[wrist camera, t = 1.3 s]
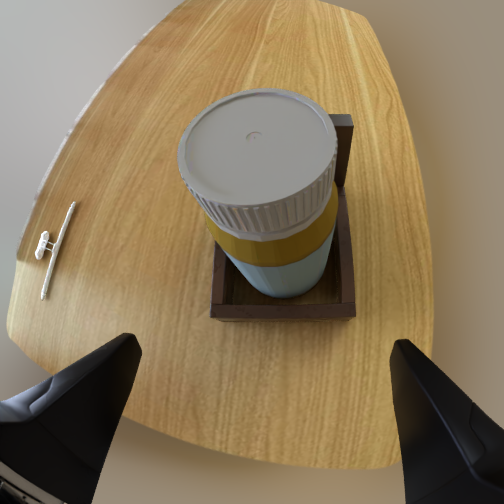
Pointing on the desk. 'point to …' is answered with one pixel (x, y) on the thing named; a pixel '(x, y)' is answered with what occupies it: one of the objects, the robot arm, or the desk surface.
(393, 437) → the desk surface
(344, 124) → the tray
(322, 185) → the bottle
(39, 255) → the picture light
